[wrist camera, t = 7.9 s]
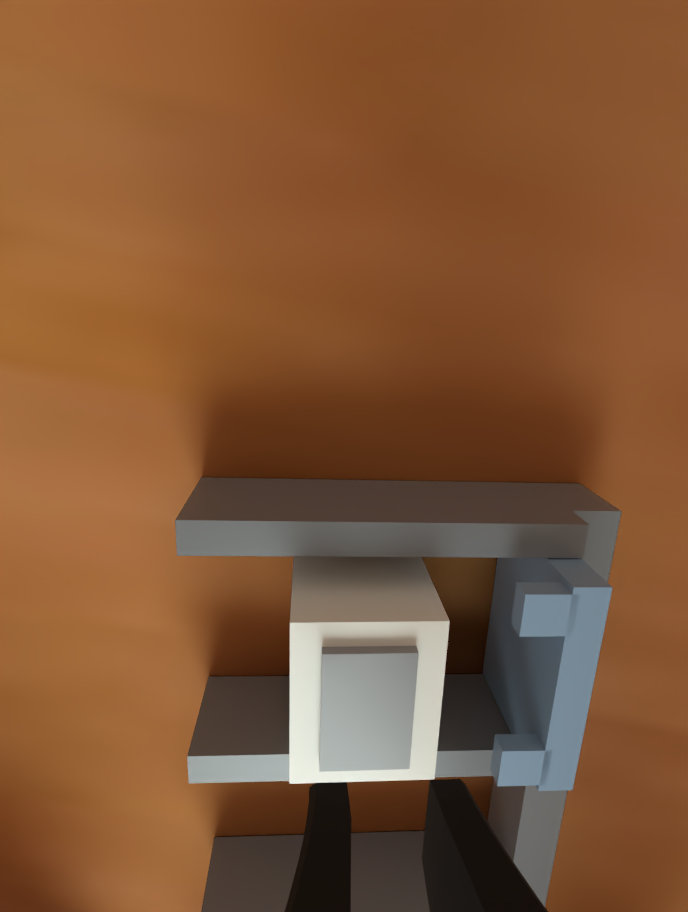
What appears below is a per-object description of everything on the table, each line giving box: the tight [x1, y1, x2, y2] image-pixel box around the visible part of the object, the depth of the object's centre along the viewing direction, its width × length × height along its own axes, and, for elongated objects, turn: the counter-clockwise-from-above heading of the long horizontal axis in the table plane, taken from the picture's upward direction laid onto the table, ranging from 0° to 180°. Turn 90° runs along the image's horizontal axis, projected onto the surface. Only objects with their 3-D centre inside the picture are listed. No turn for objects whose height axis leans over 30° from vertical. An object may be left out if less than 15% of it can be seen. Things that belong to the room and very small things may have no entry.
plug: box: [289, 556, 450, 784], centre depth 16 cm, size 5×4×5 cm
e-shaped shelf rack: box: [175, 477, 622, 912], centre depth 18 cm, size 24×12×5 cm, turn 178°
